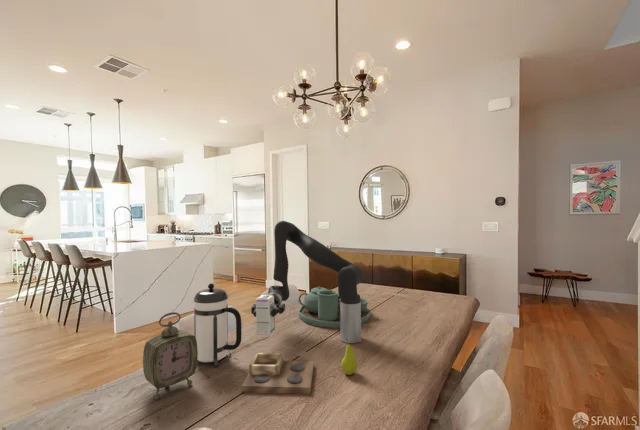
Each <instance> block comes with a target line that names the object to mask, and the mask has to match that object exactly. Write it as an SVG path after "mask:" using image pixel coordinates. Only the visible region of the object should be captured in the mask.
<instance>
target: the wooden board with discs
mask: <svg viewBox="0 0 640 430" xmlns="http://www.w3.org/2000/svg"><path fill="white" fill-rule="evenodd" d="M314 362H315V361H313V360H309V361H308V360H284V353H280V352H258V353H255V354H254V356H253V357H252V359H251V360H250V363H249V365H248V372H247V373H248V374H247V375H246V377H245V379H244V381H243V383H242V385H241V393H251V394H252V393H254V394H255V393H256V394H257V393H258V394H262V393H263V394H296V395H297V394H302V395H303V394H305V395H306V394H307V395H310V394H311V390H312V384H313V383H312V382H313V377H314V375H313V374H314V369H315V367H314V365H315V363H314Z"/></svg>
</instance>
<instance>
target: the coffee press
mask: <svg viewBox="0 0 640 430" xmlns="http://www.w3.org/2000/svg"><path fill="white" fill-rule="evenodd" d="M228 299H229V294H227V291H226V290H224V289H222V288H217V287H215V285H214V284H213V283H212V282H211V283H208V284H207V288H206V289H202V290H200V291H199V290H198V292H197V293H196V294H195V296H194V297H193V301H192V302H193V304H194V306H193V328H194V330H193V331H194V332H193V333H194V334H193V335H194V336H195V338H196V341H197V350H198V357H197V363H198V362H200V363H212V364H213V368H218V367H219V363H218V361H220V360H222V359H223V358H225V357H226V356H227V357H231V355H232V353H231V352H230V351H234V350H236V349H238V348H239V347H240V345H241V343H242V332H243V331H242V316H241V313H240V312H239V310H237V309H236V308H234V307H231V306H230V307H229V305H228ZM229 313H231V314H232V315H234V318H235V332H236V333H235V335H236V337H235V338H236V339H235V343H234V344H229V336H228V335H229V332H228V331H229V329H228V327H229V325H228V324H229V323H228V322H229V318H228V317H229V315H228V314H229ZM228 353H229V354H228Z"/></svg>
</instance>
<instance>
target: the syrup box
mask: <svg viewBox="0 0 640 430" xmlns="http://www.w3.org/2000/svg"><path fill="white" fill-rule="evenodd" d="M255 304H256V317H255V319H256V320H255V321H256V322H255V323H256V335H257V336H258V335H259V336H271V335H272V334H273V333H274V331H275V330H276V325H275V324H276V322H275V320H276V319H275V317H276V316H274V317H272V311H273V309H274V296H273V295H268V294H261V295H260V296H258V297H256V298H255Z"/></svg>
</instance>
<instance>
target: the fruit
mask: <svg viewBox="0 0 640 430" xmlns="http://www.w3.org/2000/svg"><path fill="white" fill-rule="evenodd" d="M346 340H347V339H346ZM347 342H348V340H347ZM350 344H351V343H347V344H346V349H345V351H344V352H345V353H344V357H343V358H342V360H341V362H340V364H341V366H340V367H341V369H342V372H344V373H345V374H346V375H348V376H350V375H353V374H354V373H356V371H357V369H358V362H357V359H356V356H355V353H354V350H353V348H352V346H351V345H350Z"/></svg>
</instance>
